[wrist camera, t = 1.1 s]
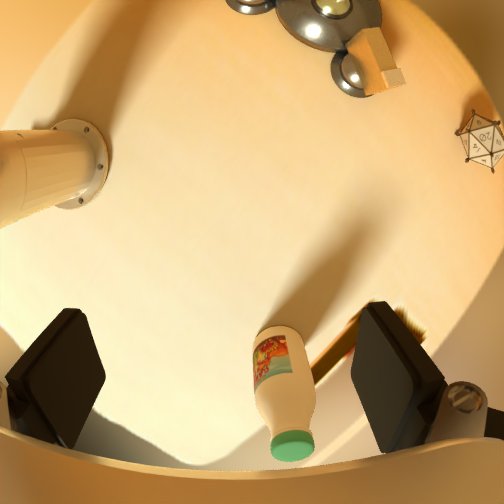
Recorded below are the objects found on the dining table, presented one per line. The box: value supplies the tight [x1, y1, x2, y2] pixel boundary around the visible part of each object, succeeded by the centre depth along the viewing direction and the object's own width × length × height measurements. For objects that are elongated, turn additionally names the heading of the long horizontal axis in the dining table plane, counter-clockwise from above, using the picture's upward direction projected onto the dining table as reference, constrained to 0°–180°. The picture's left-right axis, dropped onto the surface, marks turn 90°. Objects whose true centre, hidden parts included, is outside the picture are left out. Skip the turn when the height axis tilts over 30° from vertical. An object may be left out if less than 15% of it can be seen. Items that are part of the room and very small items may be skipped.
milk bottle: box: [253, 326, 316, 462], centre depth 36 cm, size 8×8×20 cm
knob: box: [339, 27, 406, 96], centre depth 28 cm, size 7×5×8 cm
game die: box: [455, 109, 504, 174], centre depth 31 cm, size 9×8×10 cm
